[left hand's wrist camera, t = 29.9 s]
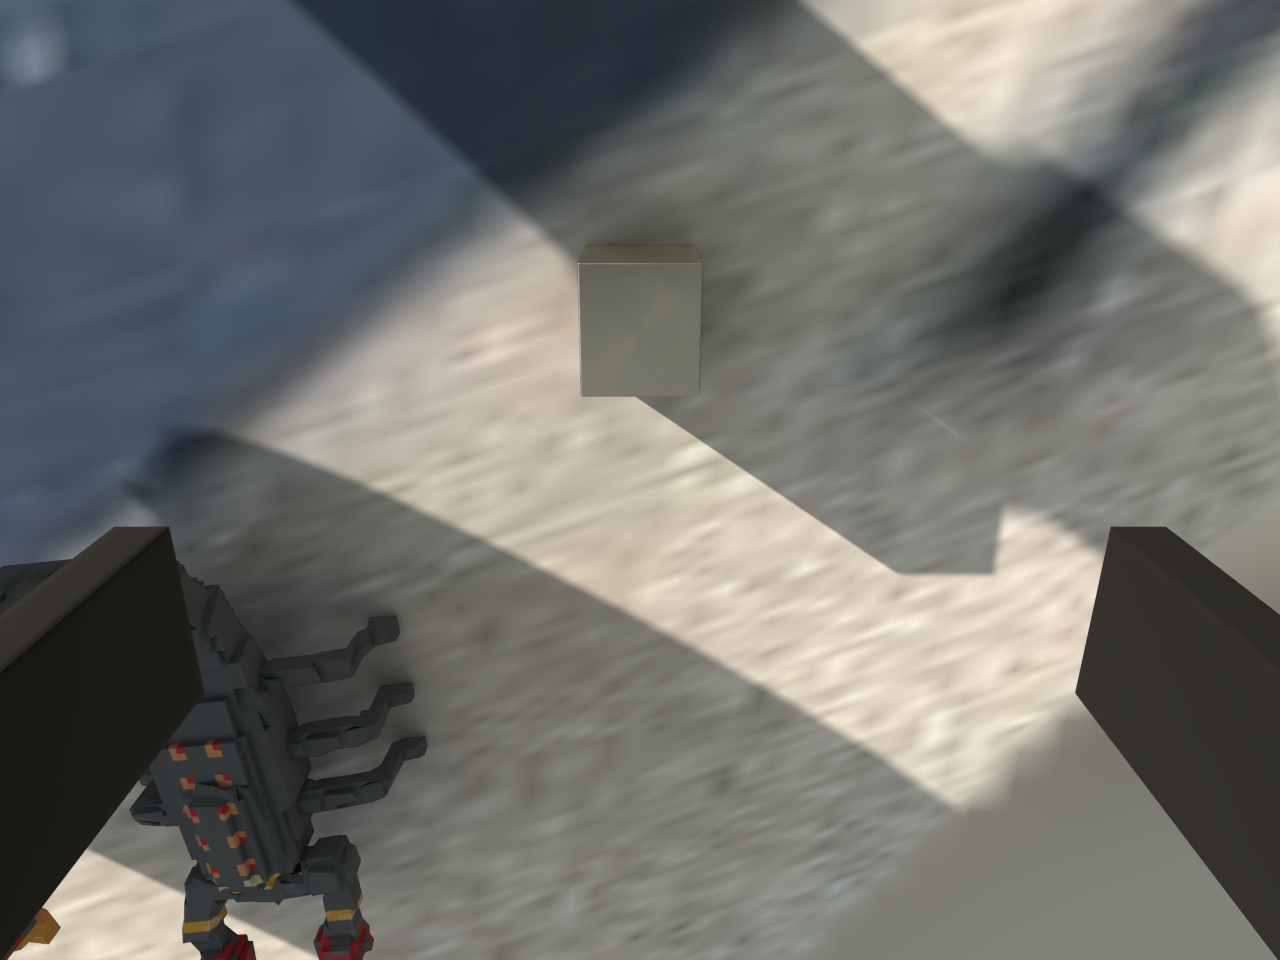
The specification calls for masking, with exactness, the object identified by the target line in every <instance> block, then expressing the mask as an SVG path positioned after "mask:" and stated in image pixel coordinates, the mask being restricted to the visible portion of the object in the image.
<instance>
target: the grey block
mask: <svg viewBox="0 0 1280 960" xmlns="http://www.w3.org/2000/svg"><path fill="white" fill-rule="evenodd" d="M577 273H578V310H579V347H580V384H581V396H583V397H651V396H699V395H700V359H701V317H702V275H703V263H702V261H701V259H700V257H699V254H698V252H697V250H696V247H695V246H694V245H683V246H585V248H584V250H583V252H582V255H581V257H580V259H579V261H578V264H577Z"/></svg>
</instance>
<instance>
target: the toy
mask: <svg viewBox="0 0 1280 960" xmlns="http://www.w3.org/2000/svg"><path fill="white" fill-rule="evenodd" d="M71 560H72V559H69V560H59V561H49V562H39V563H29V564H20V565H10V566H2V567H1V568H0V615H1V614H2V613H3V612H5V611H6V610H7V609H8V608H10V607H11V606H12V605H14V604H15V603H16V602H17V601H19V600H20V599H21V598H23V597H24V596H25V595H27V594H28V593H29V592H30V591H32V590H33V589H34V588H36V587H37V586H38V585H39V584H41V583H42V582H43V581H45V580H46V579H47V578H49V577H50V576H51V575H52V574H54V573H55V572H56V571H58V570H59V569H60V568H61V567H63V566H64V565H65V564H67V563H68V562H69V561H71ZM176 562H177V566H178V571H179V576H180V580H181V585H182V589H183V594H184V599H185V603H186V608H187V613H188V617H189V622H190V627H191V631H192V636H193V641H194V645H195V650H196V655H197V659H198V664H199V669H200V673H201V678H202V683H203V687H204V692H205V693H204V695H203V696H202V697H201V699H200V700H199V701H198V703H197V704H196V705H195V706H194V708H193V709H192V710H191V712H190V713H189V714H188V716H187V717H186V718H185V720H184V721H183V722H182V724H181V725H180V726H179V728H178V729H177V730H176V731H175V733H174V734H173V735H172V737H171V738H170V739H169V741H168V742H167V743H166V745H165V746H164V747H163V749H162V750H161V751H160V753H159V754H158V755H157V757H156V758H155V759H154V760H153V762H152V763H151V764H150V766H149V767H148V768H147V770H146V771H145V772H144V774H143V775H142V776H141V778H140V779H139V780H140V783H141V785H143V786H146V788H145V789H144V790H143V792H142V793H141V794H140V796H139V797H138V799H137V800H136V801H135V803H134V804H133V805H132V807H131V808H130V809H129V810H130V812H131V814H132V816H133V818H134V820H135V821H137V822H138V823H140V824H142V825H152V826H179V828H180V830H181V833H182V835H183V838H184V841H185V843H186V846H187V848H188V851H189V854H190V856H191V859H192V860H194V859H196V860H197V865H196V866H195V867H193V868H192V870H191V872H190V874H189V876H188V878H187V880H186V882H185V891H186V897H185V902H184V921H183V927H182V933H183V943H187V942H191V943H192V944H193V945H194V946H195V947H196V948H197V949H198V950H199V951H200V954H201V960H256V956H255V950H254V944H253V941H248V937H247V934H243V935H238V934H236V933H235V932H234V931H232V930H231V929H230V928H229V927H227V926H226V925H225V924H224V920H223V919H224V918H225V916H226V915H227V910H226V906H225V903H226V901H227V900H228V899H235V901H236V902H252V901H255V902H275V903H276V904H278V905H279V904H280V903H281V902H282V900H283V899H287V898H293V897H300V896H306V895H310V894H312V896H314V895H320V894H323V895H324V896H323V902H324V907H325V912H326V919H325V922H324V924H322V925H321V926H320V927H319V930H318V932H317V935H316V937H315V940H314V945H315V948H316V951H317V954H318V957H319V960H363V955H364V954H365V953H366V951H370V950H372V946H373V941H374V939H373V937H372V936H371V934H370V929H369V925H368V924H367V922H366V921H365V920H364V919H363V918H362V914H361V911H360V908H359V906H360V903H361V901H362V899H363V896H362V892H361V888H360V884H359V880H358V876H357V871H358V868H359V865H360V862H361V859H360V857H359V854H358V852H357V849H356V846H355V845H353V844H351V843H349V840H348V838H347V836H346V835H343V836H342V835H337V836H330V837H324V838H320V839H319V840H318V841H317V842H316V844H315V845H314V846H308V844H309V842H310V839H311V837H312V835H313V833H314V829H313V826H312V822H311V819H310V818H311V816H312V814H313V813H315V812H322V811H328V810H334V809H340V808H345V807H350V806H355V805H360V804H364V803H369V802H373V801H376V800H378V799H381V798H383V797H385V796H386V794H387V793H388V791H389V789H390V787H391V785H392V783H393V781H394V779H395V777H396V775H397V773H398V772H399V770H400V768H401V766H402V764H403V762H404V761H405V760H410V759H416V758H419V757H421V756H423V755H425V752H426V749H427V743H426V739H425V736H423V737H416V738H409V739H402V740H398V741H396V742H394V743H392V744H391V746H390V748H389V750H388V752H387V754H386V756H385V758H384V761H383V763H382V765H380V766H378V767H377V768H375V769H373V770H372V771H369V772H364V773H358V774H353V775H348V776H342V777H332V778H324V779H321V780H318V781H315V780H312V779H309V778H307V776H308V774H309V772H310V771H311V769H312V768H311V765H310V761H309V758H308V757H313V756H322V755H324V754H326V753H328V752H330V751H332V750H335V749H344V748H353V747H358V746H360V745H362V744H365V743H367V742H369V741H371V740H373V739H375V738H377V737H378V736H379V734H380V731H381V729H382V727H383V724H384V722H385V719H386V717H387V715H388V712H389V710H390V708H391V707H395V706H399V705H403V704H406V703H409V702H412V699H413V697H414V689H413V685H412V683H408V684H398V685H387V686H380V687H379V690H378V692H377V694H376V696H375V698H374V700H373V703H372V705H371V707H370V709H369V710H363V711H362V712H361V714H360V715H359V716H345V717H339V718H333V719H327V720H322V721H316V722H310V723H306V724H303V725H301V726H299V725H298V722H297V719H296V715H295V713H294V711H293V708H292V706H291V703H290V700H289V697H288V695H287V692H286V689H285V687H293V686H300V685H308V684H315V683H323V682H329V681H335V680H340V679H346V678H352V676H353V675H354V673H355V671H356V669H357V667H358V665H359V664H360V662H361V660H362V658H363V657H364V656H365V655H366V654H367V653H368V652H369V651H370V650H371V649H372V648H373V647H374V646H375V645H380V644H384V643H389V642H392V641H395V640H397V638H398V636H399V634H400V631H399V627H398V623H397V619H396V616H386V617H376V618H369V621H368V625H367V629H364V630H361V631H358V632H357V633H356V635H355V636H354V638H353V639H352V641H351V642H350V644H349V645H348V647H347V648H344V649H338V650H332V651H326V652H320V653H318V654H316V655H308V656H298V657H288V658H278V659H273V660H271V661H267V659H266V658H265V656H264V654H263V653H262V651H261V650H260V648H259V647H258V645H257V644H256V642H255V641H254V639H253V638H252V636H251V635H250V633H249V632H248V631H247V630H246V629H245V628H244V627H243V625H242V624H240V622H239V620H238V619H237V617H236V615H235V613H234V610H233V608H231V607H230V605H229V603H228V601H227V599H226V598H225V596H224V593H223V592H222V590H221V589H220V587H219V585H208V586H204V583H203V581H198V579H197V578H191V577H190V576H189V575H188V574H187V572H186V570H185V568H184V565H183V564H180V563H179V561H176ZM60 928H61V927H60V926H59V925H58V923H57V922H56V921H55V919H54V918H53V917H52V916H51V914H50V913H49V912H48V911H47V910H46V909H44V908H41V909H40V910H39V912H38V913H37V914H36V916H35V917H34V918H33V920H32V921H31V922H30V924H29V925H28V926H27V928H26V929H25V930H24V932H23V933H22V934H21V935H20V937H19V938H18V939H17V941H16V942H15V943H14V945H13V946H12V947H11V949H10V950H9V951H8V953H7V954H6V955H5V957H4V958H3V959H2V960H7V959H8V958H9V957H10V956H11V954H12V953H13V952H14V951H18V950H21V949H22V948H23V947H24V946H25V945H26V944H27V943H29V942H34V943H42V944H49V943H50V942H51V941H52V939H53V938H54V936H55V935H56V934H57V932H58V931H59V929H60Z"/></svg>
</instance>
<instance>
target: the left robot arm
mask: <svg viewBox="0 0 1280 960" xmlns="http://www.w3.org/2000/svg"><path fill="white" fill-rule="evenodd" d="M204 693H205V692H204V687H203V683H202V678H201V673H200V669H199V664H198V659H197V655H196V650H195V645H194V641H193V636H192V631H191V627H190V622H189V617H188V613H187V608H186V603H185V599H184V594H183V589H182V585H181V580H180V576H179V571H178V566H177V562H176V557H175V552H174V548H173V543H172V538H171V534H170V529H169V527H113V528H112V529H111V530H109V531H108V532H107V533H105V534H104V535H103V536H102V537H100V538H99V539H98V540H96V541H95V542H94V543H93V544H91V545H90V546H89V547H87V548H86V549H85V550H83V551H82V552H81V553H80V554H78V555H77V556H76V557H74V558H73V559H72V560H71V561H69V562H68V563H67V564H65V565H64V566H63V567H61V568H60V569H59V570H58V571H56V572H55V573H54V574H52V575H51V576H50V577H49V578H47V579H46V580H45V581H43V582H42V583H41V584H39V585H38V586H37V587H36V588H34V589H33V590H32V591H30V592H29V593H28V594H27V595H25V596H24V597H23V598H21V599H20V600H19V601H17V602H16V603H15V604H14V605H12V606H11V607H10V608H8V609H7V610H6V611H5V612H3V613H2V614H1V615H0V960H2V959H3V958H4V957H5V955H6V954H7V953H8V951H9V950H10V949H11V947H12V946H13V945H14V943H15V942H16V941H17V939H18V938H19V937H20V935H21V934H22V933H23V932H24V930H25V929H26V928H27V926H28V925H29V924H30V922H31V921H32V920H33V918H34V917H35V916H36V914H37V913H38V912H39V910H40V909H41V908H42V907H43V905H44V904H45V903H46V901H47V900H48V899H49V897H50V896H51V895H52V893H53V892H54V891H55V889H56V888H57V887H58V885H59V884H60V883H61V882H62V880H63V879H64V878H65V876H66V875H67V874H68V872H69V871H70V870H71V868H72V867H73V866H74V864H75V863H76V862H77V860H78V859H79V858H80V857H81V855H82V854H83V853H84V851H85V850H86V849H87V847H88V846H89V845H90V843H91V842H92V841H93V839H94V838H95V837H96V835H97V834H98V833H99V832H100V830H101V829H102V828H103V826H104V825H105V824H106V822H107V821H108V820H109V818H110V817H111V816H112V814H113V813H114V812H115V810H116V809H117V808H118V807H119V805H120V804H121V803H122V801H123V800H124V799H125V797H126V796H127V795H128V793H129V792H130V791H131V789H132V788H133V787H134V785H135V784H136V783H137V782H138V780H139V779H140V778H141V776H142V775H143V774H144V772H145V771H146V770H147V768H148V767H149V766H150V764H151V763H152V762H153V760H154V759H155V758H156V757H157V755H158V754H159V753H160V751H161V750H162V749H163V747H164V746H165V745H166V743H167V742H168V741H169V739H170V738H171V737H172V735H173V734H174V733H175V731H176V730H177V729H178V728H179V726H180V725H181V724H182V722H183V721H184V720H185V718H186V717H187V716H188V714H189V713H190V712H191V710H192V709H193V708H194V706H195V705H196V704H197V703H198V701H199V700H200V699H201V697H202V696H203V695H204ZM1075 693H1076V695H1077V696H1078V697H1079V699H1080V700H1081V701H1082V703H1083V704H1084V705H1085V706H1086V708H1087V709H1088V710H1089V712H1090V713H1091V714H1092V716H1093V717H1094V718H1095V720H1096V721H1097V722H1098V724H1099V725H1100V726H1101V728H1102V729H1103V730H1104V731H1105V733H1106V734H1107V735H1108V737H1109V738H1110V739H1111V741H1112V742H1113V743H1114V745H1115V746H1116V747H1117V748H1118V750H1119V751H1120V753H1121V754H1122V755H1123V757H1124V758H1125V759H1126V760H1127V762H1128V763H1129V764H1130V766H1131V767H1132V768H1133V770H1134V771H1135V772H1136V774H1137V775H1138V776H1139V778H1140V779H1141V780H1142V782H1143V783H1144V784H1145V785H1146V787H1147V788H1148V789H1149V791H1150V792H1151V793H1152V795H1153V796H1154V797H1155V799H1156V800H1157V801H1158V803H1159V804H1160V805H1161V806H1162V808H1163V809H1164V810H1165V812H1166V813H1167V814H1168V816H1169V817H1170V818H1171V820H1172V821H1173V822H1174V824H1175V825H1176V826H1177V828H1178V829H1179V830H1180V832H1181V833H1182V834H1183V835H1184V837H1185V838H1186V839H1187V841H1188V842H1189V843H1190V845H1191V846H1192V847H1193V849H1194V850H1195V851H1196V853H1197V854H1198V855H1199V857H1200V858H1201V859H1202V860H1203V862H1204V863H1205V864H1206V866H1207V867H1208V868H1209V870H1210V871H1211V872H1212V874H1213V875H1214V876H1215V878H1216V879H1217V880H1218V882H1219V883H1220V884H1221V885H1222V887H1223V888H1224V889H1225V891H1226V892H1227V893H1228V895H1229V896H1230V897H1231V899H1232V900H1233V901H1234V903H1235V904H1236V905H1237V907H1238V908H1239V909H1240V910H1241V912H1242V913H1243V914H1244V916H1245V917H1246V918H1247V920H1248V921H1249V922H1250V924H1251V925H1252V926H1253V928H1254V929H1255V930H1256V932H1257V933H1258V934H1259V935H1260V937H1261V938H1262V939H1263V941H1264V942H1265V943H1266V945H1267V946H1268V947H1269V949H1270V950H1271V951H1272V953H1273V954H1274V955H1275V957H1276V958H1277V959H1278V960H1280V615H1279V614H1278V613H1277V612H1275V611H1274V610H1273V609H1271V608H1270V607H1269V606H1268V605H1266V604H1265V603H1264V602H1262V601H1261V600H1260V599H1259V598H1257V597H1256V596H1255V595H1253V594H1252V593H1251V592H1250V591H1248V590H1247V589H1246V588H1244V587H1243V586H1242V585H1241V584H1239V583H1238V582H1237V581H1235V580H1234V579H1233V578H1231V577H1230V576H1229V575H1228V574H1226V573H1225V572H1224V571H1222V570H1221V569H1220V568H1219V567H1217V566H1216V565H1215V564H1213V563H1212V562H1211V561H1209V560H1208V559H1207V558H1206V557H1204V556H1203V555H1202V554H1200V553H1199V552H1198V551H1197V550H1195V549H1194V548H1193V547H1191V546H1190V545H1189V544H1187V543H1186V542H1185V541H1184V540H1182V539H1181V538H1180V537H1178V536H1177V535H1176V534H1175V533H1173V532H1172V531H1171V530H1169V529H1168V528H1167V527H1111V529H1110V534H1109V538H1108V543H1107V548H1106V552H1105V557H1104V562H1103V566H1102V571H1101V576H1100V580H1099V585H1098V589H1097V594H1096V599H1095V603H1094V608H1093V613H1092V617H1091V622H1090V627H1089V631H1088V636H1087V641H1086V645H1085V650H1084V655H1083V659H1082V664H1081V669H1080V673H1079V678H1078V682H1077V687H1076V692H1075Z"/></svg>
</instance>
